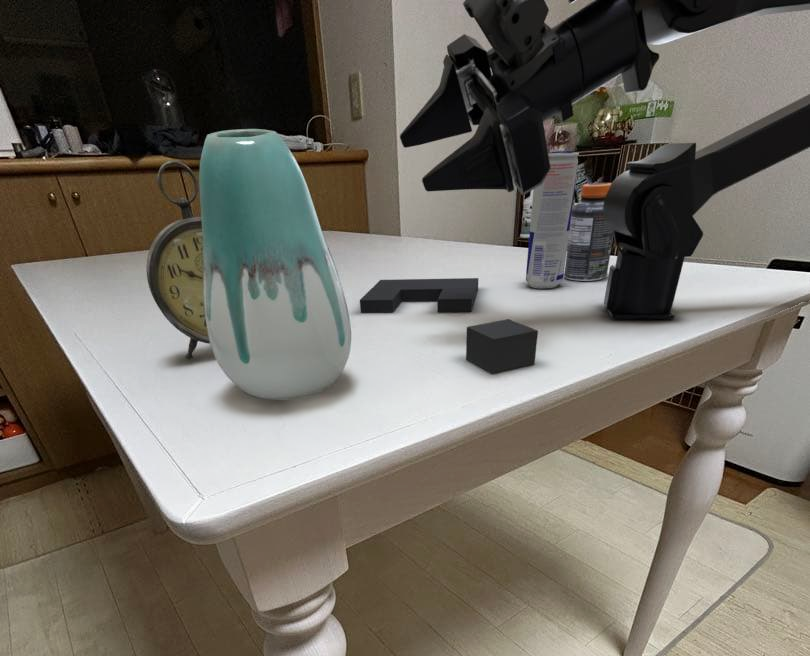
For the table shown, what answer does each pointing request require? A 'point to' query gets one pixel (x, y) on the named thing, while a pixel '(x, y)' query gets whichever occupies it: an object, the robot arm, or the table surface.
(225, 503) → the table surface
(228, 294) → the vase
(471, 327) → the pad
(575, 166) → the beverage can
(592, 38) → the robot arm
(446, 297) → the base pad
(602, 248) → the pill bottle
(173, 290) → the alarm clock
